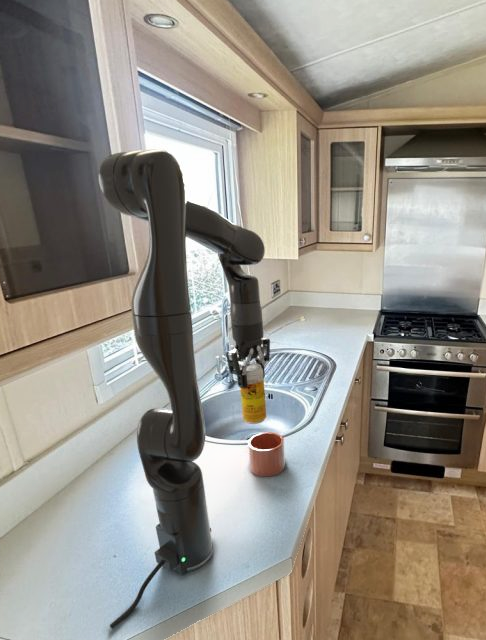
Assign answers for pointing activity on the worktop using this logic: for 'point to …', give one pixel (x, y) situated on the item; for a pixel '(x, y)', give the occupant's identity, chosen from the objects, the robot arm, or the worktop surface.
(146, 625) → the worktop surface
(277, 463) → the holder
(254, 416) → the yellow labelled bottle
